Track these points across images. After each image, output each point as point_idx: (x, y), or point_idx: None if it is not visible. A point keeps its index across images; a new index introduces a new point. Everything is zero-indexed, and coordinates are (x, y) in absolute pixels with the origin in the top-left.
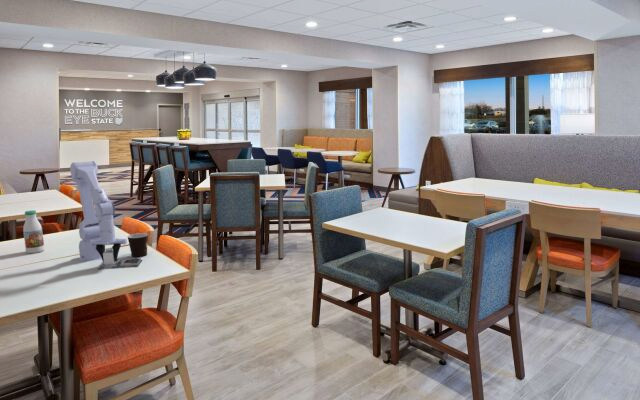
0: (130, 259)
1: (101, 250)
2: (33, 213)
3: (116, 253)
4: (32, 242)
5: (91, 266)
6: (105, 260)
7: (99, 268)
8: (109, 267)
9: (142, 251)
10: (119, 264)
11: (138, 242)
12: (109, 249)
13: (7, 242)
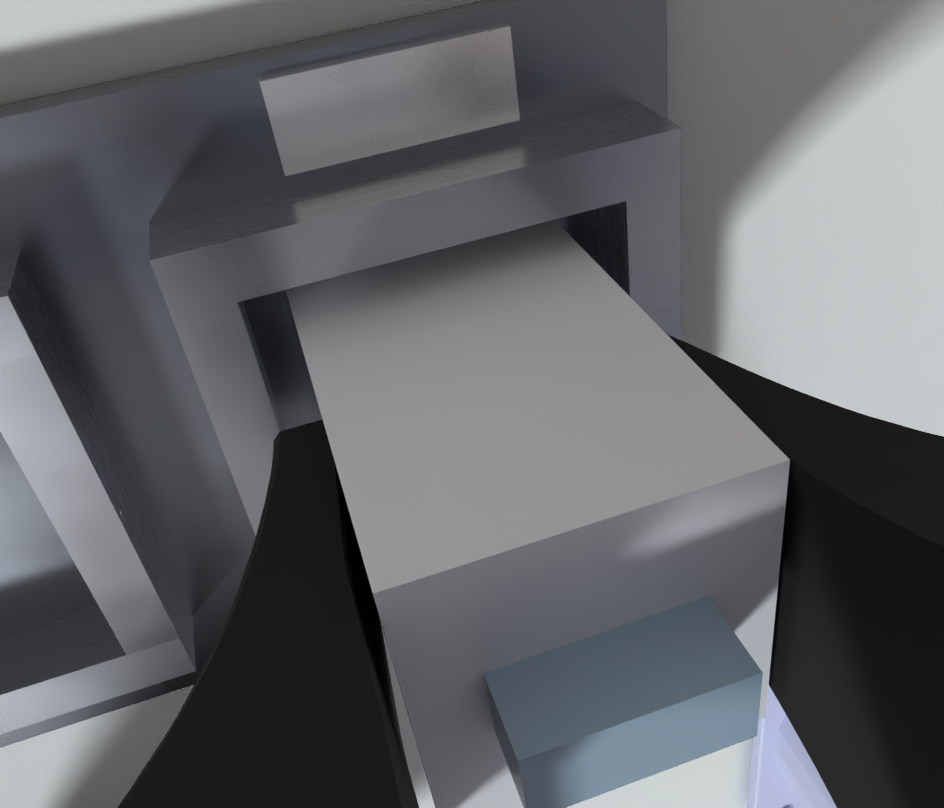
0: (5, 700)
1: (926, 524)
2: None
3: (224, 624)
4: None
5: (874, 322)
6: (581, 324)
7: (640, 76)
8: (370, 166)
9: None
10: (221, 448)
11: None
12: (620, 750)
13: None
